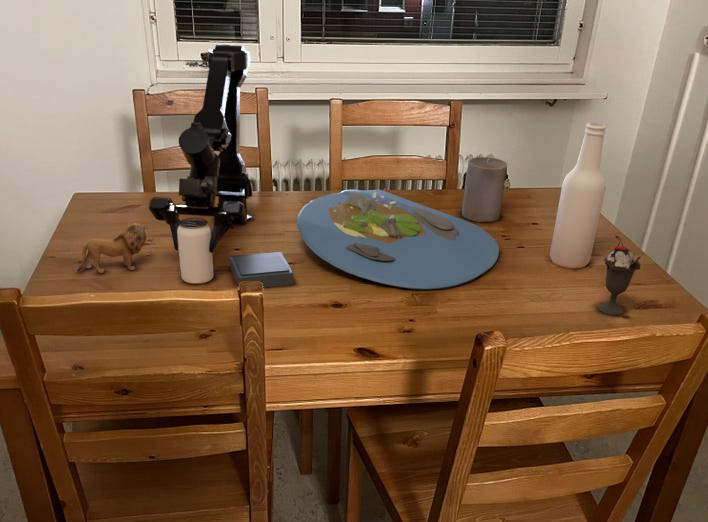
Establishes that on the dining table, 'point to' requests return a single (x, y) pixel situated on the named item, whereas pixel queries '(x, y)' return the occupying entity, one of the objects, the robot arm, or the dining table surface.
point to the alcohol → (580, 204)
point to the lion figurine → (115, 247)
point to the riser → (262, 269)
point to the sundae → (618, 276)
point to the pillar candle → (484, 189)
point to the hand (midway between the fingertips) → (193, 250)
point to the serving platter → (395, 240)
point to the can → (195, 250)
